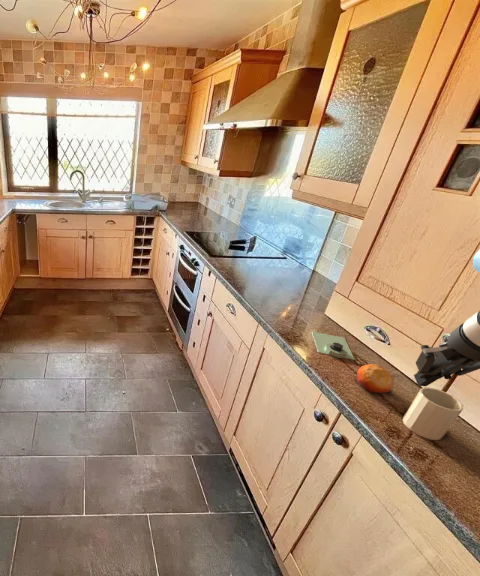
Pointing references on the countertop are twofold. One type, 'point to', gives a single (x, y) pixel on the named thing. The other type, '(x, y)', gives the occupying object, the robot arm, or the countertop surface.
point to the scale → (326, 342)
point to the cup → (432, 413)
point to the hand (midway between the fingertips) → (419, 380)
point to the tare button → (337, 347)
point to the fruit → (375, 378)
